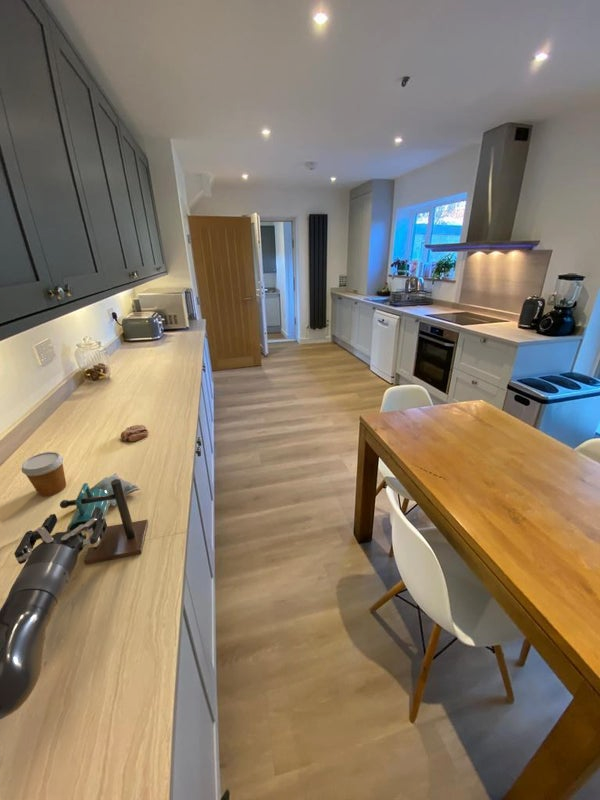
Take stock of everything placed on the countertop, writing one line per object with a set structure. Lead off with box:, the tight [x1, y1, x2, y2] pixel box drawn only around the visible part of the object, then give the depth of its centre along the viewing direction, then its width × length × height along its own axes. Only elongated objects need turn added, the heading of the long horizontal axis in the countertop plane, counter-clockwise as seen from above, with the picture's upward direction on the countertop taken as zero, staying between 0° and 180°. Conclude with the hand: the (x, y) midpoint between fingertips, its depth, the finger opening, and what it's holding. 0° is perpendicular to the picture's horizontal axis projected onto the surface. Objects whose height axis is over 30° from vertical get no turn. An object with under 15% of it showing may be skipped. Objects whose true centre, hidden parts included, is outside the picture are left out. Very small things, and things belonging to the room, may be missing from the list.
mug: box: [66, 482, 111, 537], centre depth 76 cm, size 11×7×10 cm
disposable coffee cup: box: [21, 451, 67, 498], centre depth 93 cm, size 10×10×12 cm
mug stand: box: [59, 479, 149, 565], centre depth 76 cm, size 15×10×18 cm, turn 105°
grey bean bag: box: [90, 473, 141, 507], centre depth 94 cm, size 9×12×5 cm
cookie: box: [120, 424, 149, 442], centre depth 126 cm, size 10×11×3 cm
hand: (76, 513), depth 70 cm, fingers open, 8 cm apart
